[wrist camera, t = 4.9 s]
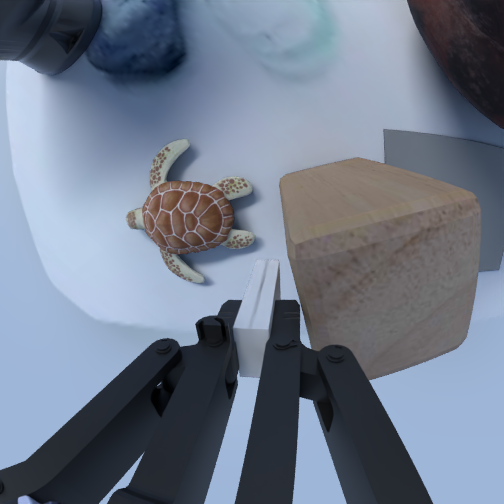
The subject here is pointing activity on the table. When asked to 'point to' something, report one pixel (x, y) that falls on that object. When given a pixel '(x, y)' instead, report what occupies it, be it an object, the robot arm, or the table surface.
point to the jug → (467, 48)
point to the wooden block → (382, 261)
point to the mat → (458, 178)
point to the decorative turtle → (189, 213)
